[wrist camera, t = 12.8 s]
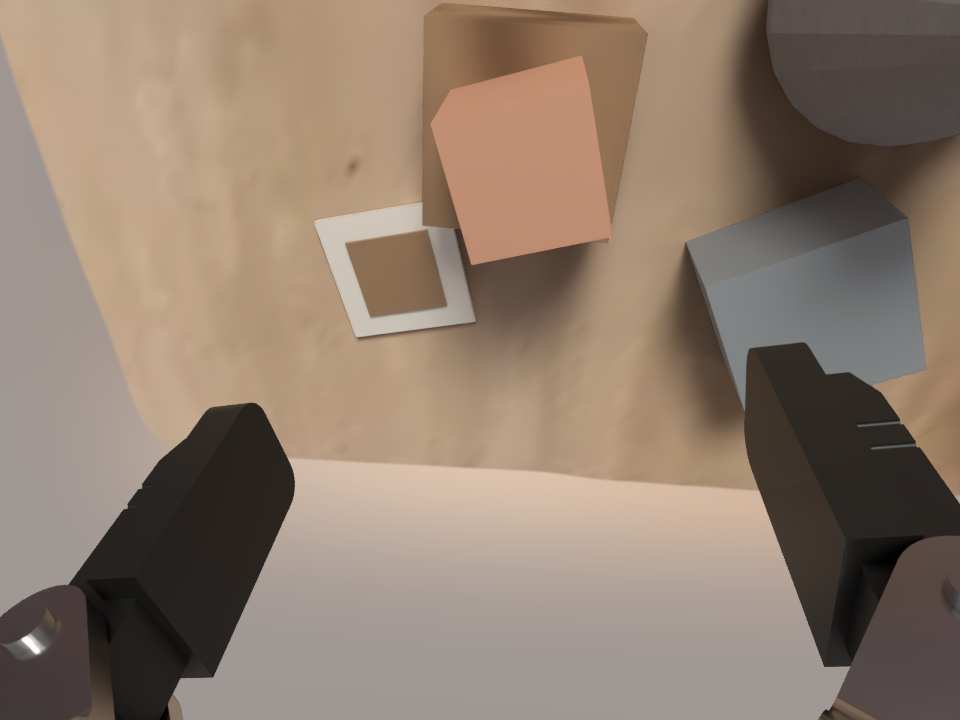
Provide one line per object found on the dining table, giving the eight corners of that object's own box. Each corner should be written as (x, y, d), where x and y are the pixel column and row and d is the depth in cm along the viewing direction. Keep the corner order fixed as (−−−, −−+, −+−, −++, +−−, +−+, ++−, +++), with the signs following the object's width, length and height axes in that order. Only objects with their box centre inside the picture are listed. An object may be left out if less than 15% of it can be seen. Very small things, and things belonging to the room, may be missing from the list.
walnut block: (632, 17, 26) (648, 33, 22) (600, 200, 31) (608, 243, 27) (443, 2, 27) (423, 15, 23) (438, 186, 31) (422, 225, 27)
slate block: (857, 176, 29) (908, 217, 25) (879, 314, 33) (926, 369, 29) (685, 240, 32) (705, 287, 28) (724, 361, 36) (747, 418, 31)
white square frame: (447, 197, 31) (445, 202, 31) (476, 317, 35) (475, 323, 35) (316, 220, 33) (313, 224, 32) (357, 333, 36) (355, 339, 36)
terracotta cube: (581, 55, 23) (589, 83, 19) (602, 186, 26) (612, 237, 21) (450, 89, 24) (430, 124, 20) (483, 212, 27) (471, 265, 23)
